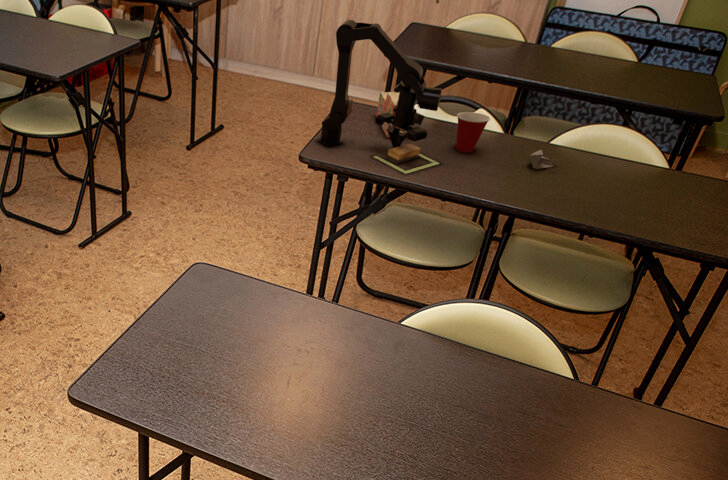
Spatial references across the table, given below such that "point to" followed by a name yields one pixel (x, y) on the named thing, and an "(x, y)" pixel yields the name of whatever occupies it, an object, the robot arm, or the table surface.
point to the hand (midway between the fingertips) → (395, 150)
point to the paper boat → (540, 160)
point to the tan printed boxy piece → (387, 106)
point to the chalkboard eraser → (403, 153)
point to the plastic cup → (469, 130)
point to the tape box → (410, 169)
